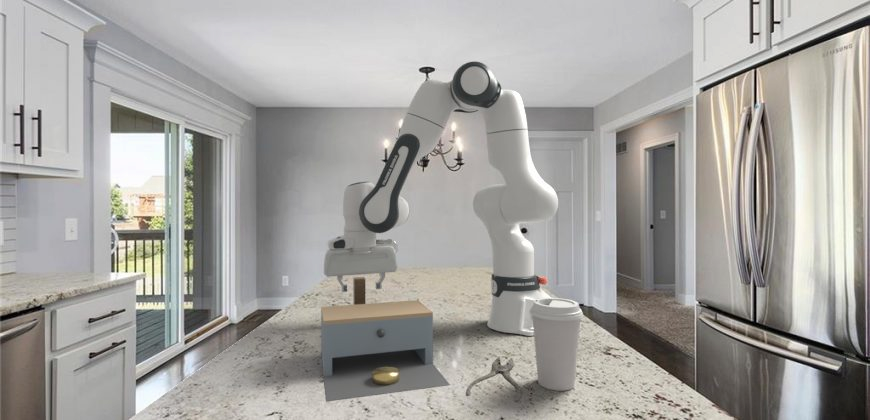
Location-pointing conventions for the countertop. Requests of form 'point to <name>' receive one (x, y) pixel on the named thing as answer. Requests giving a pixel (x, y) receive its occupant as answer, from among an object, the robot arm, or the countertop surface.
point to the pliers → (497, 369)
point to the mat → (356, 370)
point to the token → (385, 376)
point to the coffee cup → (556, 341)
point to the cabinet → (375, 330)
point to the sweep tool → (358, 290)
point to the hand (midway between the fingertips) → (361, 290)
